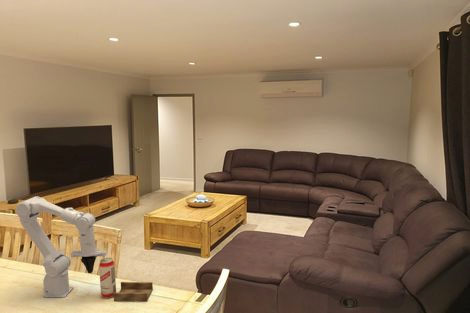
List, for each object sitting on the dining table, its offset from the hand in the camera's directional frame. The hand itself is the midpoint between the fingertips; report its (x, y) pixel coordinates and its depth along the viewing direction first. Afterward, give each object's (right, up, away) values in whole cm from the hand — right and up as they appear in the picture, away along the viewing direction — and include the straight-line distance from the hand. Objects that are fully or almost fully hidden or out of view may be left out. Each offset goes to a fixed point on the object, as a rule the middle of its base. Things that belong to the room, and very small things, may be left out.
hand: (90, 272), depth 153 cm
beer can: (+7, -11, +1) cm, 13 cm away
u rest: (+18, -10, +1) cm, 21 cm away
